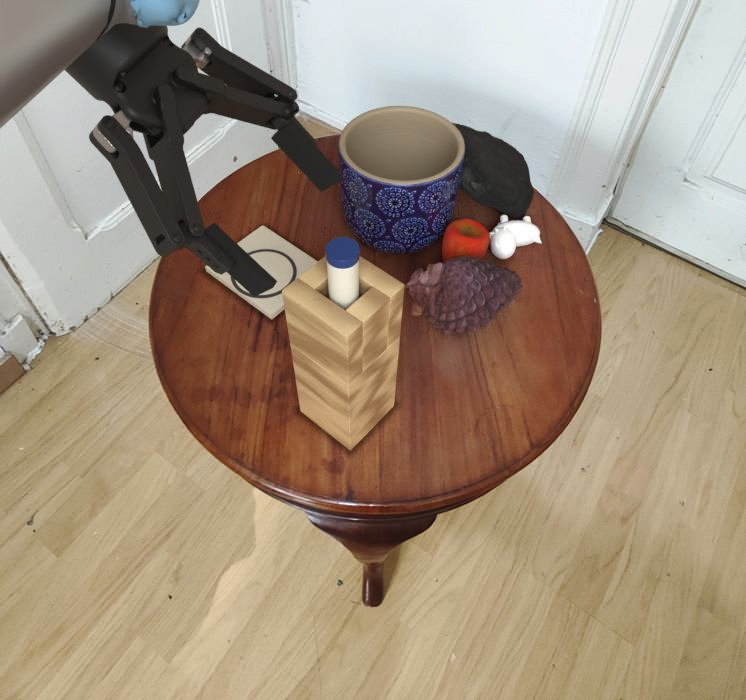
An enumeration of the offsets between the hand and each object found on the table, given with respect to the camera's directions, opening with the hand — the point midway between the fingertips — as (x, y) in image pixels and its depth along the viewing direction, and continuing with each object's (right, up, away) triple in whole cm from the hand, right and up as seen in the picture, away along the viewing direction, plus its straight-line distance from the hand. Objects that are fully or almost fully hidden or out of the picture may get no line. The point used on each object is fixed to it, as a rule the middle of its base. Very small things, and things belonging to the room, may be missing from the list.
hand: (301, 233), depth 54 cm
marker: (+3, -9, +10) cm, 14 cm away
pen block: (+3, -17, +22) cm, 28 cm away
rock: (+25, +14, +45) cm, 53 cm away
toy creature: (+26, +9, +37) cm, 46 cm away
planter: (+10, +8, +40) cm, 42 cm away
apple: (+18, +1, +35) cm, 39 cm away
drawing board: (-9, +1, +34) cm, 35 cm away
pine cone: (+18, -5, +30) cm, 36 cm away
